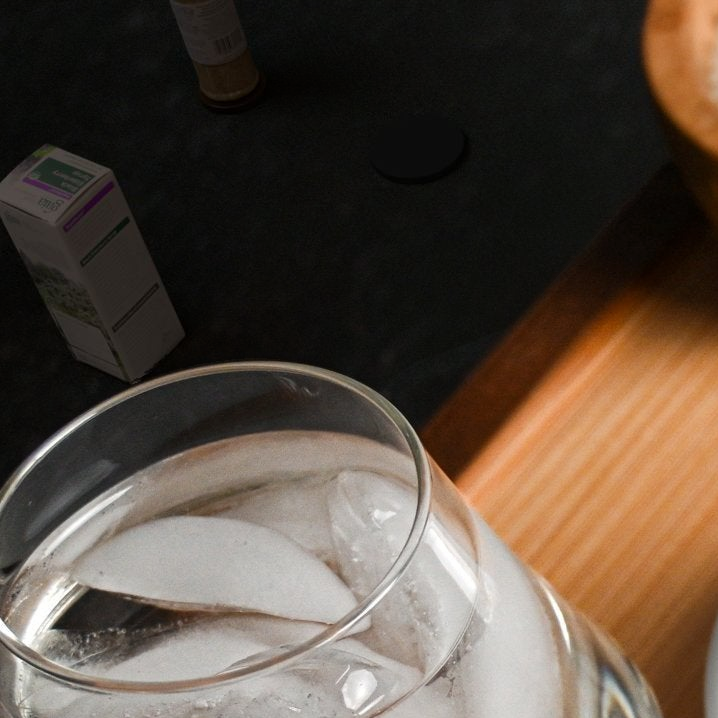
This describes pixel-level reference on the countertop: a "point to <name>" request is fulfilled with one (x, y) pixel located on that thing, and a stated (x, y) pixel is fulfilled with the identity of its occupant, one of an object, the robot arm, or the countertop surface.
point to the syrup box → (89, 262)
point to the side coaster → (417, 149)
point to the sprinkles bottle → (217, 47)
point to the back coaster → (239, 104)
